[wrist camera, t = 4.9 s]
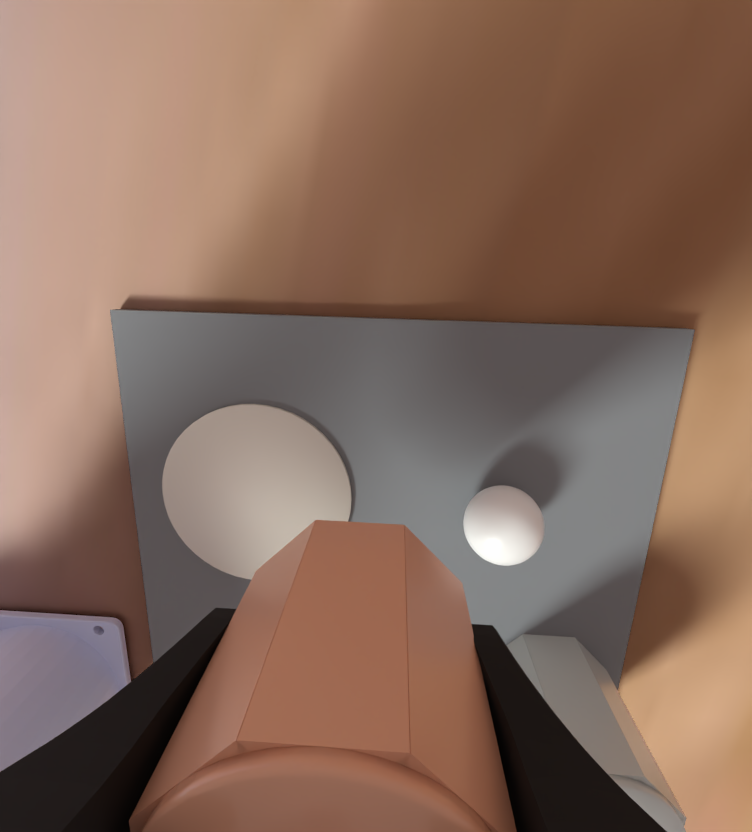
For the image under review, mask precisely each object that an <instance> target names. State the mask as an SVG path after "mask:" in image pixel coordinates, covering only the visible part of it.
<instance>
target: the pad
mask: <svg viewBox="0 0 752 832" xmlns="http://www.w3.org/2000/svg"><path fill="white" fill-rule="evenodd" d="M162 491H163V499H164V504H165V508H166V511H167V514H168V517H169V519H170V521H171V523H172V525H173V527H174V529H175V530H176V532H177V534H178V535H179V537H180V538H181V539H182V540H183V542H184V543H185V544H186V545H187V546H188V547H189V548H190V549H191V550H192V551H193V552H194V553H195V554H196V555H197V556H198V557H200V558H201V559H202V560H203V561H205V562H207V563H208V564H210V565H211V566H213V567H215V568H217V569H219V570H221V571H223V572H225V573H228V574H231V575H233V576H236V577H241V578H245V579H250V580H252V578H253V576H254V574H255V572H256V570H257V569H259V568H260V567H261V566H262V565H263V564H264V563H266V562H267V561H268V560H269V559H270V558H272V557H273V556H274V555H275V554H276V553H277V552H279V551H280V550H281V549H282V548H283V547H284V546H286V545H287V544H288V543H289V542H290V541H291V540H293V539H294V538H295V537H296V536H297V535H299V534H300V533H301V532H302V531H303V530H304V529H306V528H307V527H308V526H309V525H310V524H311V523H313V522H314V521H315V520H329V521H347V522H348V520H349V516H350V512H351V502H352V496H351V485H350V480H349V476H348V473H347V470H346V467H345V464H344V462H343V460H342V458H341V456H340V455H339V453H338V452H337V450H336V449H335V447H334V446H333V444H332V443H331V442H330V441H329V440H328V438H327V437H326V436H325V435H324V434H323V433H322V432H321V431H320V430H318V429H317V428H316V427H315V426H314V425H312V424H311V423H309V422H308V421H306V420H305V419H304V418H302V417H300V416H298V415H296V414H294V413H292V412H289V411H287V410H284V409H281V408H278V407H273V406H269V405H263V404H237V405H231V406H227V407H223V408H220V409H217V410H215V411H212V412H210V413H208V414H206V415H204V416H203V417H201V418H200V419H198V420H197V421H195V422H194V423H192V424H191V425H190V426H189V427H188V428H187V429H185V430H184V431H183V433H182V434H181V435H180V436H179V437H178V438H177V440H176V441H175V443H174V445H173V446H172V448H171V450H170V452H169V454H168V457H167V459H166V462H165V466H164V470H163V479H162Z"/></svg>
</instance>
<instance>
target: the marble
mask: <svg viewBox="0 0 752 832" xmlns="http://www.w3.org/2000/svg"><path fill="white" fill-rule="evenodd" d="M463 526H464V533H465V536H466V539H467V541H468V543H469V545H470V546H471V548H472V549H473V550H474V551H475V552H476V553H477V554H478V555H479V556H480V557H481V558H483V559H484V560H486V561H488V562H491V563H493V564H497V565H503V566H510V565H516V564H519V563H522V562H524V561H526V560H528V559H529V558H530V557H531V556H533V555H534V554H535V553H536V551H537V550H538V549H539V547H540V545H541V543H542V540H543V537H544V528H545V527H544V519H543V515H542V513H541V511H540V508H539V507H538V505H537V504H536V502H535V501H534V500H533V499H532V498H531V497H530V496H529V495H528V494H526V493H525V492H523V491H522V490H520V489H517V488H515V487H511V486H505V485H498V486H492V487H489V488H486V489H484V490H482V491H480V492H479V493H477V494H476V495H475V496H474V497H473V498H472V499H471V501H470V502H469V504H468V506H467V508H466V510H465V513H464V520H463Z"/></svg>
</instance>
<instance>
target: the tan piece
mask: <svg viewBox="0 0 752 832" xmlns="http://www.w3.org/2000/svg"><path fill="white" fill-rule="evenodd" d="M129 826H130V832H517V830H516V826H515V821H514V816H513V812H512V807H511V803H510V798H509V794H508V789H507V785H506V780H505V775H504V771H503V766H502V762H501V757H500V753H499V748H498V743H497V739H496V734H495V730H494V725H493V721H492V716H491V711H490V707H489V702H488V698H487V693H486V689H485V684H484V680H483V675H482V670H481V666H480V662H479V658H478V655H477V652H476V648H475V644H474V634H473V629H472V625H471V620H470V616H469V611H468V607H467V602H466V597H465V593H464V588H463V584H462V582H461V581H460V580H459V579H458V578H457V577H456V576H455V575H454V574H453V573H452V572H451V571H450V570H449V569H448V568H447V567H446V566H445V565H444V564H443V563H442V562H441V561H440V560H439V559H438V558H437V557H436V556H435V555H434V554H433V553H432V552H431V551H430V550H429V549H428V548H427V547H426V546H425V545H424V544H423V543H422V542H421V541H420V540H419V539H418V538H417V537H416V536H415V535H414V534H413V533H412V532H411V531H410V530H409V529H408V528H407V527H406V526H405V525H400V524H382V523H365V522H347V521H329V520H315V521H314V522H313V523H311V524H310V525H309V526H308V527H307V528H306V529H304V530H303V531H302V532H301V533H300V534H299V535H297V536H296V537H295V538H294V539H293V540H291V541H290V542H289V543H288V544H287V545H286V546H284V547H283V548H282V549H281V550H280V551H279V552H277V553H276V554H275V555H274V556H273V557H272V558H270V559H269V560H268V561H267V562H266V563H264V564H263V565H262V566H261V567H260V568H259V569H257V570H256V572H255V574H254V576H253V578H252V580H251V582H250V584H249V586H248V588H247V589H246V591H245V593H244V595H243V597H242V599H241V601H240V603H239V605H238V607H237V609H236V611H235V613H234V615H233V617H232V619H231V621H230V623H229V625H228V627H227V629H226V631H225V633H224V635H223V637H222V639H221V641H220V643H219V644H218V646H217V648H216V650H215V652H214V654H213V656H212V658H211V660H210V662H209V664H208V666H207V668H206V670H205V672H204V674H203V676H202V678H201V680H200V682H199V684H198V686H197V688H196V690H195V692H194V694H193V696H192V698H191V699H190V701H189V703H188V705H187V707H186V709H185V711H184V713H183V715H182V717H181V719H180V721H179V723H178V725H177V727H176V729H175V731H174V733H173V735H172V737H171V739H170V741H169V743H168V745H167V747H166V749H165V751H164V753H163V754H162V756H161V758H160V760H159V762H158V764H157V766H156V768H155V770H154V772H153V774H152V776H151V778H150V780H149V782H148V784H147V786H146V788H145V790H144V792H143V794H142V796H141V798H140V800H139V802H138V804H137V806H136V808H135V809H134V811H133V813H132V815H131V817H130V819H129Z"/></svg>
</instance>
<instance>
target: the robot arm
mask: <svg viewBox="0 0 752 832" xmlns="http://www.w3.org/2000/svg"><path fill="white" fill-rule="evenodd" d="M235 611H236V609H230V608H215V609H214V610H212V611H211V612H210V613H209V614H208V615H207V616H206V617H204V618H203V619H202V620H201V621H200V622H199V623H198V624H197V625H196V626H194V627H193V628H192V629H191V630H190V631H189V632H188V633H187V634H186V635H185V636H183V637H182V638H181V639H180V640H179V641H178V642H177V643H176V644H175V645H174V646H172V647H171V648H170V649H169V650H168V651H167V652H166V653H164V654H163V655H162V656H161V657H160V658H159V659H157V660H156V661H155V662H154V663H153V664H152V665H151V666H149V667H148V668H147V669H146V670H145V671H144V672H142V673H141V674H140V675H139V676H137V677H136V678H135V679H134V680H133V681H131V677H130V670H129V663H128V656H127V649H126V642H125V635H124V627H123V624H122V622H121V621H120V620H118V619H117V618H113V617H100V616H84V615H68V614H53V613H37V612H21V611H5V610H0V832H130V826H129V819H130V817H131V815H132V813H133V811H134V809H135V808H136V806H137V804H138V802H139V800H140V798H141V796H142V794H143V792H144V790H145V788H146V786H147V784H148V782H149V780H150V778H151V776H152V774H153V772H154V770H155V768H156V766H157V764H158V762H159V760H160V758H161V756H162V754H163V753H164V751H165V749H166V747H167V745H168V743H169V741H170V739H171V737H172V735H173V733H174V731H175V729H176V727H177V725H178V723H179V721H180V719H181V717H182V715H183V713H184V711H185V709H186V707H187V705H188V703H189V701H190V699H191V698H192V696H193V694H194V692H195V690H196V688H197V686H198V684H199V682H200V680H201V678H202V676H203V674H204V672H205V670H206V668H207V666H208V664H209V662H210V660H211V658H212V656H213V654H214V652H215V650H216V648H217V646H218V644H219V643H220V641H221V639H222V637H223V635H224V633H225V631H226V629H227V627H228V625H229V623H230V621H231V619H232V617H233V615H234V613H235ZM471 625H472V629H473V634H474V644H475V648H476V652H477V655H478V658H479V662H480V666H481V670H482V675H483V680H484V684H485V689H486V693H487V698H488V702H489V707H490V711H491V716H492V721H493V725H494V730H495V734H496V739H497V743H498V748H499V753H500V757H501V762H502V766H503V771H504V775H505V780H506V785H507V789H508V794H509V798H510V803H511V807H512V812H513V816H514V821H515V826H516V830H517V832H667V831H666V830H665V829H664V828H663V827H661V826H660V825H659V824H658V823H657V822H656V821H655V820H654V819H653V818H652V817H651V816H650V815H649V814H648V813H647V812H645V811H644V810H643V809H642V808H641V807H640V806H639V805H638V804H637V803H636V802H635V801H634V800H633V799H632V798H631V797H630V796H629V795H628V794H627V793H626V792H625V791H624V790H623V789H622V788H621V787H620V786H619V785H618V784H617V783H616V782H615V781H614V780H613V779H612V778H611V777H610V776H609V775H608V774H607V773H606V772H605V771H604V770H603V769H602V767H601V766H600V765H599V764H598V763H597V762H596V761H595V760H594V759H593V758H592V757H591V756H590V754H589V753H588V752H587V751H586V750H585V749H584V748H583V746H582V745H581V744H580V743H579V742H578V741H577V739H576V738H575V737H574V736H573V735H572V733H571V732H570V731H569V730H568V729H567V727H566V726H565V725H564V724H563V723H562V721H561V720H560V719H559V718H558V716H557V715H556V714H555V713H554V711H553V710H552V709H551V707H550V706H549V705H548V704H547V702H546V701H545V700H544V698H543V697H542V696H541V694H540V693H539V691H538V690H537V689H536V687H535V686H534V685H533V683H532V682H531V681H530V679H529V678H528V676H527V675H526V674H525V672H524V671H523V669H522V668H521V666H520V665H519V664H518V662H517V661H516V659H515V658H514V656H513V655H512V653H511V652H510V650H509V649H508V647H507V646H506V644H505V642H504V641H503V639H502V638H501V636H500V635H499V633H498V631H497V630H496V629H495V628H494V626H493V625H481V624H471ZM101 627H102V628H103V629H102V628H101Z"/></svg>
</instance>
